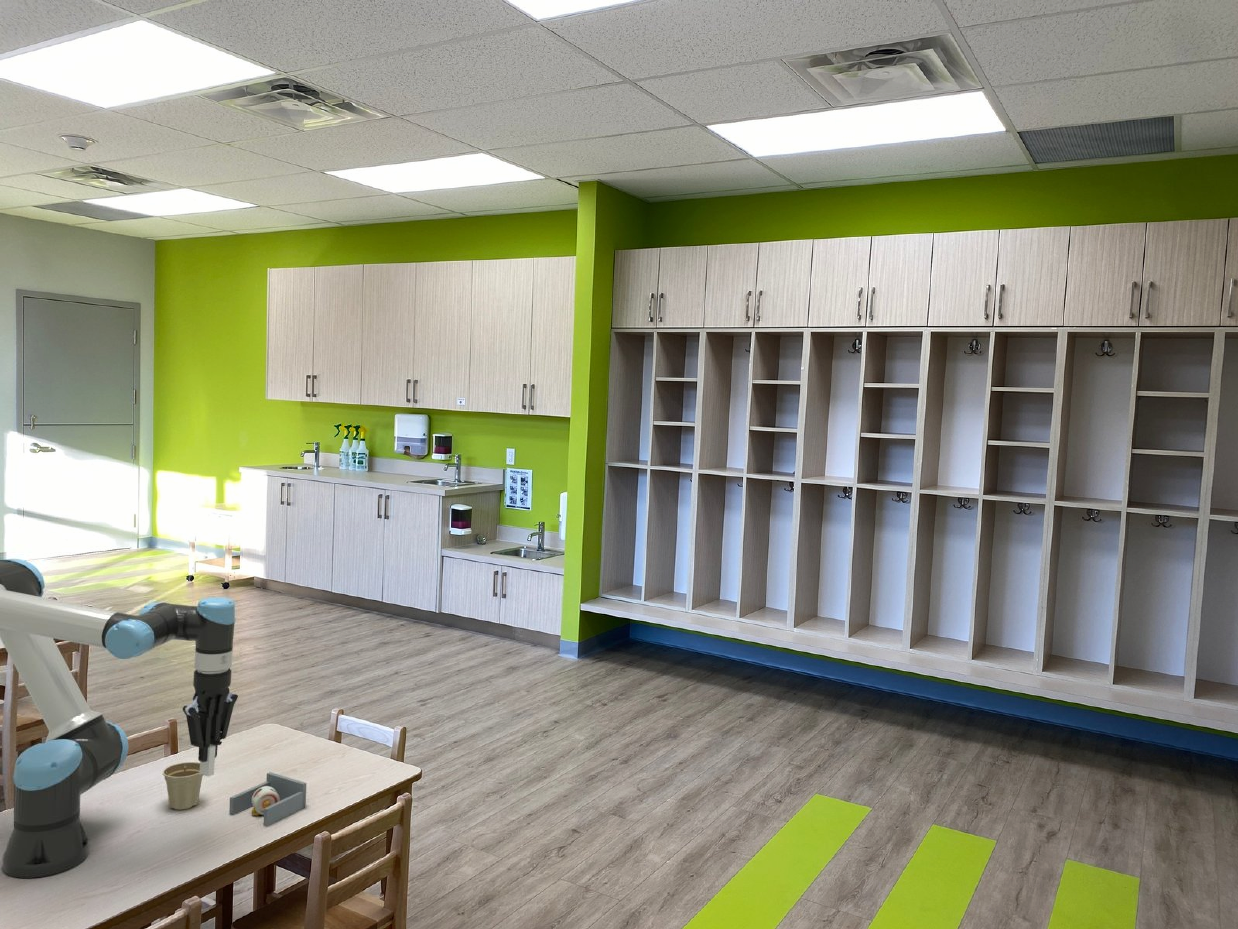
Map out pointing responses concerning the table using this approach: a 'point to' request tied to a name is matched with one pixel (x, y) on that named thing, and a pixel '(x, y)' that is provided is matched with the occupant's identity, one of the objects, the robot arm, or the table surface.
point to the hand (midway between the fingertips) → (206, 774)
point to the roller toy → (263, 799)
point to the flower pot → (183, 784)
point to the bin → (290, 802)
